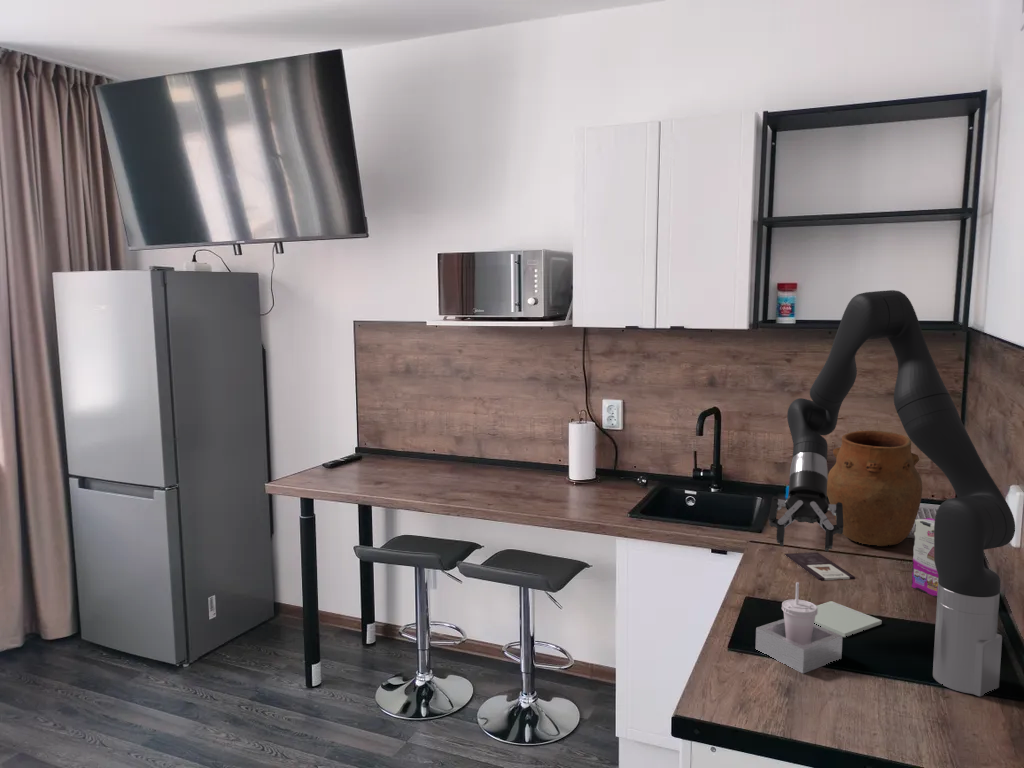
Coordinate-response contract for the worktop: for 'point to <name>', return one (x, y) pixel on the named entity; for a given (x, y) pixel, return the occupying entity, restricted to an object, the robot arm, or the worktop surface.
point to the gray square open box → (799, 647)
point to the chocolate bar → (819, 566)
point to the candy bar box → (924, 558)
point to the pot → (876, 486)
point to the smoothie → (799, 619)
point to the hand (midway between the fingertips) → (804, 546)
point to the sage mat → (843, 619)
